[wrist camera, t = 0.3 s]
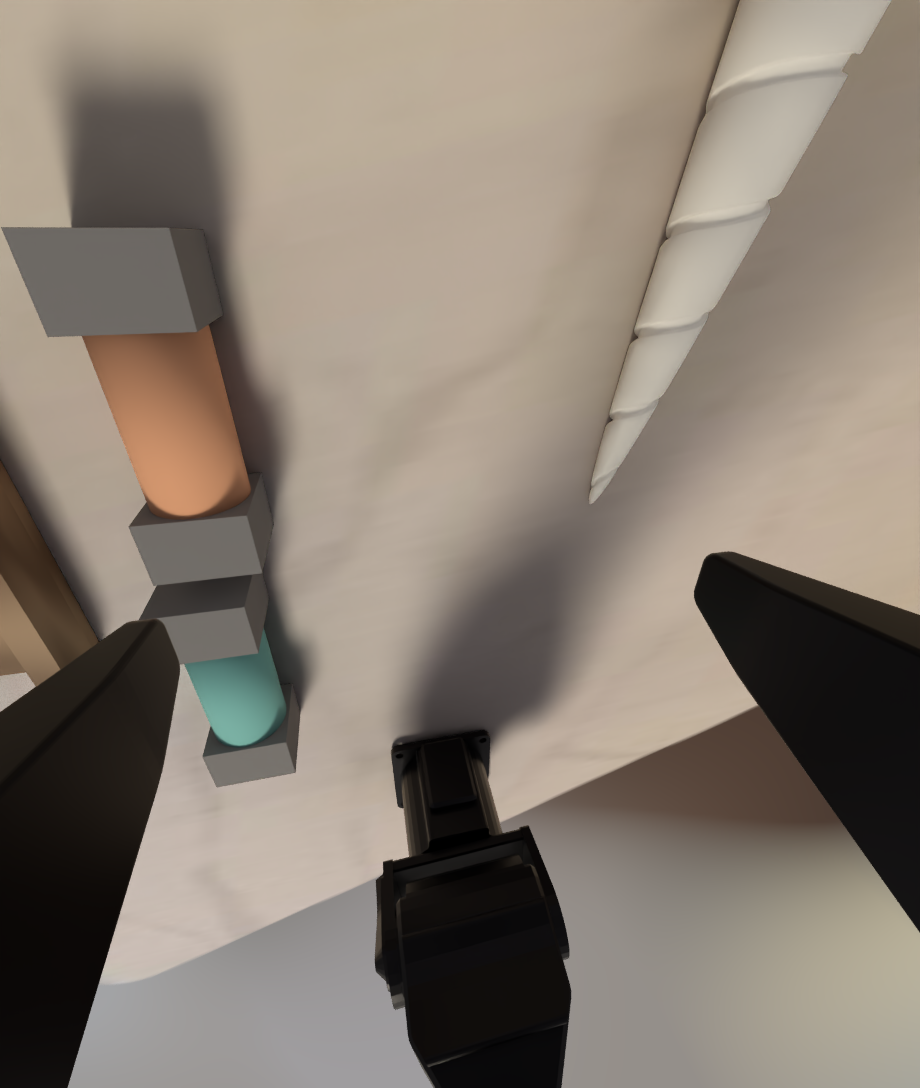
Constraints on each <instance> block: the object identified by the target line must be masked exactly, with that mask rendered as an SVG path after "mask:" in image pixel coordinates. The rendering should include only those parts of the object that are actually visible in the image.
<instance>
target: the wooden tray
mask: <svg viewBox="0 0 920 1088" xmlns="http://www.w3.org/2000/svg"><path fill="white" fill-rule="evenodd" d="M97 643H99V641H98V639H97V637H96V635H95V633H94V632H93V630H92V628H91V626H90V624H89V622H88V621H87V619H86V617H85V615H84V613H83V611H82V609H81V608H80V606H79V604H78V602H77V600H76V598H75V597H74V595H73V593H72V591H71V589H70V587H69V586H68V584H67V582H66V580H65V578H64V576H63V574H62V573H61V571H60V569H59V567H58V565H57V563H56V562H55V560H54V558H53V556H52V554H51V552H50V551H49V549H48V547H47V545H46V543H45V541H44V540H43V538H42V536H41V534H40V532H39V530H38V528H37V527H36V525H35V523H34V521H33V519H32V517H31V516H30V514H29V512H28V510H27V508H26V506H25V505H24V503H23V501H22V499H21V497H20V495H19V493H18V492H17V490H16V488H15V486H14V484H13V482H12V481H11V479H10V477H9V475H8V473H7V471H6V470H5V468H4V466H3V464H2V462H1V460H0V676H2V675H9V674H16V673H24V672H26V673H27V674H28V676H29V677H30V679H31V680H32V682H33V683H34V684H35V686H38V685H39V684H41V683H42V682H44V681H45V680H46V679H48V678H49V677H51V676H52V675H53V674H55V673H56V672H58V671H59V670H60V669H62V668H63V667H65V666H66V665H68V664H69V663H70V662H72V661H73V660H75V659H76V658H77V657H79V656H80V655H82V654H83V653H85V652H86V651H87V650H89V649H90V648H92V647H93V646H94V645H96V644H97Z"/></svg>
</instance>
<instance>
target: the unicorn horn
mask: <svg viewBox="0 0 920 1088" xmlns="http://www.w3.org/2000/svg"><path fill="white" fill-rule="evenodd" d="M891 1H892V0H740V2H739V5H738V8H737V11H736V14H735V17H734V20H733V23H732V26H731V29H730V33H729V36H728V39H727V42H726V45H725V48H724V51H723V54H722V57H721V60H720V63H719V66H718V69H717V72H716V76H715V79H714V82H713V85H712V88H711V91H710V94H709V97H708V100H707V103H706V115H705V117H704V118H703V120H702V122H701V124H700V126H699V128H698V131H697V134H696V137H695V140H694V143H693V146H692V149H691V152H690V155H689V159H688V162H687V165H686V168H685V171H684V174H683V177H682V180H681V183H680V186H679V190H678V193H677V196H676V199H675V202H674V205H673V208H672V211H671V214H670V218H669V221H668V224H667V227H666V236H667V238H668V239H667V240H666V241H665V242H664V243H663V244H662V246H661V247H660V249H659V253H658V256H657V260H656V263H655V266H654V269H653V272H652V275H651V278H650V281H649V284H648V287H647V291H646V294H645V297H644V300H643V303H642V306H641V309H640V312H639V315H638V319H637V322H636V325H635V329H634V332H635V335H637V336H638V339H636V340H634V341H633V342H632V343H631V344H630V345H629V348H628V352H627V355H626V358H625V362H624V365H623V368H622V372H621V375H620V378H619V382H618V385H617V388H616V392H615V395H614V399H613V402H612V406H611V409H610V412H609V414H610V418H612V420H613V421H611V422H609V423H608V424H607V425H606V427H605V430H604V434H603V437H602V441H601V445H600V449H599V452H598V456H597V460H596V464H595V468H594V472H593V477H592V481H591V487H592V489H591V491H590V494H589V503H590V504H591V503H593V502H594V501H596V500H597V498H598V497H599V496H600V495H601V493H602V492H603V491H604V490H605V488H606V487H607V485H608V484H609V482H610V481H611V479H612V478H613V476H614V475H615V473H616V472H617V469H618V466H620V465H621V463H622V462H623V461H624V459H625V457H626V456H627V454H628V453H629V451H630V450H631V448H632V446H633V445H634V443H635V441H636V440H637V438H638V436H639V435H640V433H641V432H642V430H643V428H644V427H645V425H646V423H647V422H648V420H649V418H650V417H651V415H652V413H653V412H654V410H655V408H656V407H657V405H658V402H659V398H660V397H662V396H663V394H664V393H665V391H666V390H667V388H668V387H669V385H670V383H671V382H672V380H673V378H674V376H675V375H676V373H677V371H678V370H679V368H680V366H681V365H682V363H683V361H684V360H685V358H686V356H687V354H688V353H689V351H690V349H691V347H692V346H693V344H694V342H695V340H696V339H697V337H698V335H699V333H700V332H701V330H702V328H703V326H704V325H705V323H706V321H707V319H708V312H709V311H711V310H713V308H714V307H715V306H716V305H717V303H718V302H719V300H720V298H721V296H722V295H723V293H724V291H725V290H726V288H727V286H728V284H729V283H730V281H731V279H732V278H733V276H734V274H735V272H736V271H737V269H738V267H739V265H740V264H741V262H742V260H743V259H744V257H745V255H746V253H747V252H748V250H749V248H750V246H751V245H752V243H753V241H754V239H755V238H756V236H757V234H758V232H759V231H760V229H761V227H762V225H763V224H764V222H765V220H766V219H767V217H768V215H769V213H770V212H771V209H770V205H769V202H768V201H769V199H771V198H774V197H777V196H778V195H779V194H780V193H781V192H782V191H783V189H784V187H785V185H786V184H787V182H788V180H789V178H790V177H791V175H792V173H793V172H794V170H795V168H796V166H797V165H798V163H799V161H800V160H801V158H802V156H803V154H804V153H805V151H806V149H807V147H808V146H809V144H810V142H811V141H812V139H813V137H814V135H815V134H816V132H817V130H818V128H819V126H820V125H821V123H822V121H823V119H824V118H825V116H826V114H827V112H828V111H829V109H830V107H831V105H832V104H833V102H834V100H835V98H836V97H837V95H838V93H839V91H840V89H841V88H842V86H843V84H844V82H845V81H846V79H847V77H848V74H846V73H844V72H842V70H843V68H844V66H845V64H846V63H847V61H848V59H849V57H850V56H851V55H852V54H853V53H855V54H858V55H859V54H860V53H862V51H863V49H864V48H865V46H866V44H867V43H868V41H869V39H870V37H871V36H872V34H873V32H874V30H875V29H876V27H877V25H878V23H879V22H880V20H881V18H882V16H883V15H884V13H885V11H886V9H887V8H888V6H889V4H890V2H891Z"/></svg>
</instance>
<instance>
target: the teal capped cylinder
mask: <svg viewBox="0 0 920 1088" xmlns="http://www.w3.org/2000/svg"><path fill="white" fill-rule="evenodd" d="M268 601H269V596H268V592H267V588H266V584H265V581H264V577H263V573H260V574H252V575H243V576H234V577H226V578H217V579H208V580H200V581H191V582H182V583H174V584H165V585H157V586H156V588H155V590H154V592H153V594H152V596H151V598H150V600H149V602H148V604H147V605H146V607H145V609H144V611H143V613H142V615H141V617H140V619H139V620H147V619H158V620H161V621H162V622H163V623H164V625H165V627H166V629H167V632H168V634H169V637H170V639H171V642H172V644H173V647H174V649H175V651H176V654H177V656H178V659H179V664H185V667H186V669H187V671H188V674H189V676H190V678H191V681H192V683H193V685H194V688H195V690H196V692H197V695H198V697H199V699H200V702H201V704H202V706H203V709H204V711H205V713H206V716H207V718H208V720H209V723H210V725H211V727H210V731H209V734H208V738H207V742H206V746H205V750H204V753H203V759H204V761H205V763H206V765H207V768H208V770H209V772H210V774H211V776H212V778H213V780H214V783H215V785H216V787H222V786H227V785H232V784H238V783H243V782H248V781H254V780H259V779H265V778H270V777H275V776H281V775H286V774H291V773H295V772H296V760H297V747H298V735H299V723H300V710H299V707H298V703H297V699H296V695H295V692H294V688H293V684H285V685H280V682H279V679H278V675H277V672H276V669H275V665H274V662H273V658H272V655H271V651H270V648H269V644H268V641H267V638H266V634H265V631H264V622H265V617H266V612H267V607H268Z"/></svg>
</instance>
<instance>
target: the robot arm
mask: <svg viewBox="0 0 920 1088" xmlns="http://www.w3.org/2000/svg"><path fill="white" fill-rule="evenodd" d="M694 599H695V602H696V605H697V606H698V608H699V610H700V612H701V613H702V615H703V617H704V619H705V620H706V622H707V624H708V626H709V627H710V629H711V631H712V633H713V634H714V636H715V638H716V640H717V641H718V643H719V645H720V646H721V648H722V650H723V652H724V653H725V655H726V657H727V659H728V660H729V662H730V664H731V665H732V667H733V669H734V670H735V672H736V674H737V675H738V677H739V678H740V680H741V681H742V683H743V684H744V686H745V687H746V688H747V690H748V691H749V693H750V694H751V695H752V697H753V698H754V700H755V701H756V702H757V704H758V705H759V707H760V708H761V710H762V711H763V712H764V714H765V715H766V716H767V718H768V719H769V721H770V722H771V723H772V725H773V726H774V728H775V729H776V731H777V732H778V733H779V735H780V736H781V738H782V739H783V740H784V742H785V743H786V745H787V746H788V748H789V749H790V750H791V752H792V753H793V755H794V756H795V757H796V758H797V760H798V762H799V763H800V764H801V766H802V767H803V769H804V770H805V771H806V773H807V774H808V776H809V777H810V779H811V780H812V781H813V783H814V784H815V786H816V787H817V788H818V790H819V791H820V792H821V794H822V795H823V797H824V798H825V800H826V801H827V802H828V804H829V805H830V807H831V808H832V810H833V811H834V812H835V814H836V815H837V817H838V818H839V819H840V821H841V822H842V824H843V825H844V826H845V828H846V829H847V831H848V832H849V833H850V835H851V836H852V837H853V839H854V840H855V842H856V843H857V845H858V846H859V847H860V849H861V850H862V852H863V853H864V855H865V856H866V857H867V859H868V860H869V862H870V863H871V864H872V866H873V867H874V869H875V870H876V871H877V873H878V874H879V875H880V877H881V878H882V880H883V881H884V883H885V884H886V885H887V887H888V888H889V890H890V891H891V893H892V894H893V895H894V897H895V898H896V899H897V901H898V902H899V903H900V905H901V907H902V908H903V909H904V911H905V912H906V914H907V915H908V916H909V918H910V919H911V921H912V922H913V923H914V925H915V926H916V928H917V929H918V930H919V932H920V615H918V614H915V613H912V612H909V611H906V610H903V609H901V608H898V607H895V606H892V605H889V604H886V603H883V602H880V601H877V600H874V599H871V598H868V597H865V596H862V595H859V594H856V593H853V592H850V591H847V590H844V589H841V588H838V587H836V586H833V585H830V584H827V583H824V582H821V581H818V580H815V579H812V578H809V577H806V576H803V575H800V574H797V573H794V572H791V571H788V570H785V569H782V568H779V567H776V566H773V565H771V564H768V563H765V562H762V561H759V560H756V559H753V558H750V557H747V556H744V555H741V554H738V553H735V552H729V551H728V552H719V553H712V554H709V555H708V556H707V557H706V558H705V559H704V561H703V564H702V567H701V571H700V574H699V577H698V580H697V583H696V586H695V590H694ZM179 675H180V664H179V659H178V656H177V654H176V651H175V649H174V647H173V644H172V642H171V639H170V637H169V634H168V632H167V629H166V627H165V625H164V623H163V622H162V621H161V620H158V619H147V620H138V621H131V622H128V623H126V624H124V625H123V626H121V627H120V628H118V629H117V630H116V631H114V632H113V633H111V634H110V635H109V636H107V637H106V638H104V639H103V640H101V641H100V642H99V643H97V644H96V645H94V646H93V647H92V648H90V649H89V650H87V651H86V652H85V653H83V654H82V655H80V656H79V657H77V658H76V659H75V660H73V661H72V662H70V663H69V664H68V665H66V666H65V667H63V668H62V669H60V670H59V671H58V672H56V673H55V674H53V675H52V676H51V677H49V678H48V679H46V680H45V681H44V682H42V683H41V684H39V685H38V686H36V687H35V688H34V689H32V690H31V691H29V692H28V693H27V694H25V695H24V696H22V697H21V698H19V699H18V700H17V701H15V702H14V703H12V704H11V705H10V706H8V707H7V708H5V709H4V710H3V711H1V712H0V1088H67V1087H68V1084H69V1081H70V1077H71V1074H72V1071H73V1067H74V1064H75V1061H76V1057H77V1054H78V1051H79V1047H80V1044H81V1041H82V1038H83V1034H84V1031H85V1027H86V1024H87V1021H88V1018H89V1014H90V1011H91V1007H92V1004H93V1001H94V998H95V994H96V991H97V988H98V984H99V981H100V978H101V974H102V971H103V968H104V964H105V961H106V958H107V954H108V951H109V948H110V944H111V941H112V938H113V935H114V931H115V928H116V925H117V921H118V918H119V915H120V911H121V908H122V905H123V901H124V898H125V895H126V891H127V888H128V885H129V881H130V878H131V875H132V871H133V868H134V865H135V861H136V858H137V855H138V851H139V848H140V845H141V841H142V838H143V835H144V832H145V828H146V825H147V822H148V818H149V815H150V812H151V808H152V805H153V802H154V798H155V795H156V792H157V788H158V785H159V781H160V777H161V774H162V770H163V765H164V760H165V755H166V750H167V744H168V738H169V732H170V727H171V721H172V715H173V710H174V704H175V698H176V693H177V687H178V681H179ZM489 753H490V737H489V733H488V732H487V731H485V730H482V731H476V732H471V733H465V734H460V735H454V736H449V737H443V738H438V739H432V740H427V741H421V742H416V743H410V744H405V745H399V746H396V747H394V748H393V749H392V750H391V757H392V765H393V773H394V781H395V789H396V797H397V804H398V807H400V808H404V815H405V824H406V833H407V842H408V851H409V857H407V858H403V859H399V860H395V861H393V859H392V860H388V861H384V862H383V875H381V876H380V877H379V878H378V879H377V880H376V892H377V931H376V947H375V968H376V972H377V973H378V974H379V975H380V976H381V977H382V978H383V979H384V980H385V981H386V983H387V988H388V991H389V992H390V993H391V998H392V1003H393V1007H394V1009H395V1010H396V1009H399V1008H403V1007H405V1009H406V1019H407V1030H408V1037H409V1041H410V1044H411V1046H412V1049H413V1051H414V1052H415V1054H416V1057H417V1059H418V1060H419V1063H420V1065H421V1067H422V1069H423V1070H424V1072H425V1074H426V1075H427V1077H428V1079H429V1081H430V1082H431V1084H432V1086H433V1088H561V1085H562V1076H563V1067H564V1058H565V1049H566V1040H567V1030H568V1022H569V1013H570V1003H571V988H570V984H569V980H568V976H567V973H566V969H565V966H564V962H563V960H565V959H568V958H569V943H568V937H567V932H566V928H565V923H564V920H563V916H562V912H561V908H560V905H559V902H558V899H557V896H556V893H555V890H554V887H553V885H552V882H551V880H550V877H549V875H548V872H547V870H546V867H545V865H544V863H543V860H542V858H541V855H540V853H539V850H538V848H537V845H536V843H535V840H534V838H533V835H532V833H531V830H530V828H529V826H528V825H527V826H523V827H520V828H519V829H518V830H514V831H510V832H506V833H502V829H501V826H500V822H499V818H498V815H497V811H496V807H495V804H494V800H493V796H492V793H491V789H490V785H489V782H488V773H489Z"/></svg>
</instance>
